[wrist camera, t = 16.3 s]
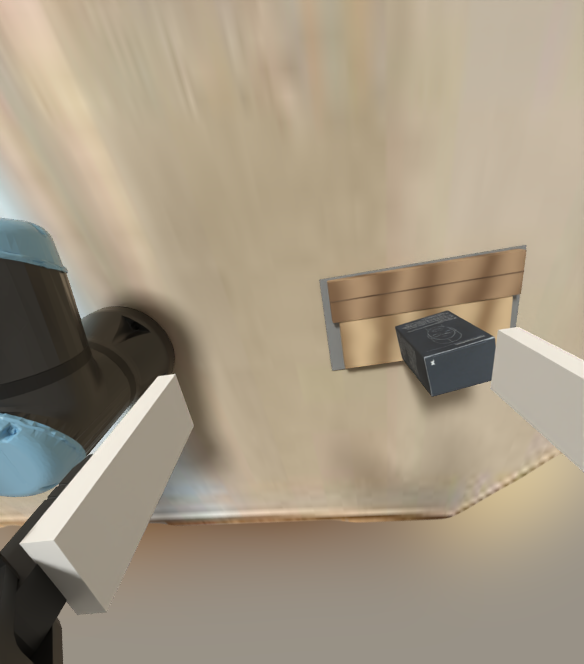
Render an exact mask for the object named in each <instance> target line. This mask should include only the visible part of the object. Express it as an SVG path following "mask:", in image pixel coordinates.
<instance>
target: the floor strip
mask: <svg viewBox="0 0 584 664" xmlns="http://www.w3.org/2000/svg"><path fill="white" fill-rule="evenodd" d="M525 257H526V250H524V249H513V250H507V251H501V252H495V253H489V254H483V255H477V256H471V257H465V258H459V259H453V260H447V261H441V262H435V263H429V264H424V265H418V266H412V267H406V268H400V269H394V270H388V271H382V272H376V273H370V274H364V275H358V276H352V277H346V278H340V279H334V280H328V281H327V286H328V294H329V301H330V309H331V317H332V322H333V323H338V322H344V321H351V320H357V319H364V318H370V317H376V316H383V315H389V314H396V313H402V312H409V311H415V310H422V309H428V308H434V307H441V306H447V305H454V304H460V303H467V302H473V301H480V300H486V299H492V298H499V297H505V296H512V295H518V294H521V288H522V280H523V272H524V265H525Z"/></svg>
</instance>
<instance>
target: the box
mask: <svg viewBox="0 0 584 664" xmlns="http://www.w3.org/2000/svg"><path fill="white" fill-rule="evenodd" d="M395 330H396V335H397V339H398V343H399V347H400V352H401V357H402V359H403V360H404V361H405V363H406V364H407V365H408V367H409V368H410V369H411V371H412V372H413V373H414V374H415V375H416V377H417V378H418V379H419V381H420V382H421V383H422V385H423V386H424V387H425V388H426V390H427V391H428V392H429V393H430V395H431V396H432V397H433V396H437V395H440V394H444V393H448V392H451V391H455V390H459V389H462V388H466V387H470V386H473V385H477V384H481V383H484V382H488V381H491V380H492V373H493V365H494V357H495V349H496V344H495V337H494V336H492V335H490V334H489V333H487V332H485V331H483V330H482V329H480V328H478V327H476V326H475V325H473V324H471V323H469V322H468V321H466V320H464V319H462V318H461V317H459V316H457V315H455V314H454V313H452V312H450V311H448V310H447V311H443V312H440V313H437V314H434V315H430V316H427V317H424V318H421V319H417V320H414V321H411V322H408V323H404V324H401V325H398V326H395Z"/></svg>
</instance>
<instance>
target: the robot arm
mask: <svg viewBox="0 0 584 664" xmlns="http://www.w3.org/2000/svg"><path fill="white" fill-rule="evenodd" d="M66 273H68V271H67V269H66V268H65V267H64V266H63V264H62V262H61V259H60V257H59V254H58V252H57V249H56V246H55V244H54V241H53V239H52V237H51V236H50V234H49V233H48V232H47V231H46V230H44V229H43V228H42V227H40V226H38V225H36V224H34V223H31V222H27V221H22V220H14V219H6V218H0V496H7V497H24V496H32V495H36V494H40V493H43V492H46V491H48V490H50V489H52V488H53V487H55V486H56V485H58V484H59V486H58V487H56V488H55V489H54V490H53V491H52V492H51V493H50V495H49V496H48V499H47V500H44V502H43V503H42V504H41V505H40V506H39V507H38V509H37V510H36V511H35V512H34V513H33V514H32V515H31V517H30V518H29V519H28V520H27V521H26V522H25V524H24V525H23V526H22V527H21V528H20V529H19V530H18V532H17V533H16V534H15V535H14V537H12V539H11V540H10V541H9V542H8V543H7V544H6V546H5V547H4V548H3V549H2V550H1V551H0V664H63V650H62V628H61V624H60V621H59V620H58V618H57V616H58V615H59V613H60V611H61V609H62V608H63V606H64V604H65V603H66V602H67V603H68V604H69V605H70V606H71V608H72V609H73V610H74V611H75V613H76V614H77V615H80V614H92V613H104V612H107V611H108V609H109V606H110V604H111V602H112V600H113V598H114V596H115V593H116V591H117V589H118V587H119V585H120V583H121V581H122V579H123V576H124V574H125V572H126V570H127V568H128V566H129V564H130V562H131V559H132V557H133V555H134V553H135V551H136V548H137V547H138V544H139V542H140V540H141V538H142V536H143V534H144V531H145V529H146V527H147V525H148V523H149V521H150V519H151V517H152V515H153V512H154V510H155V508H156V506H157V504H158V502H159V500H160V497H161V495H162V493H163V491H164V489H165V487H166V485H167V482H168V480H169V478H170V476H171V474H172V472H173V470H174V468H175V465H176V463H177V461H178V459H179V457H180V455H181V453H182V450H183V448H184V446H185V444H186V442H187V440H188V438H189V435H190V433H191V431H192V429H193V427H194V424H193V421H192V418H191V416H190V413H189V410H188V407H187V405H186V402H185V399H184V396H183V393H182V391H181V388H180V385H179V382H178V380H177V377H176V374H172V375H170V374H171V372H172V370H173V366H174V350H173V347H172V344H171V341H170V339H169V337H168V336H167V334H166V333H165V331H164V330H163V329H162V328H161V327H160V326H159V325H158V324H157V323H156V322H155V321H154V320H153V319H151V318H150V317H148V316H147V315H145V314H143V313H141V312H139V311H136V310H134V309H130V308H126V307H106V308H102V309H100V310H97V311H95V312H93V313H91V314H89V315H87V316H86V317H84V318H83V319H81V318H80V315H79V312H78V309H77V306H76V302H75V299H74V296H73V293H72V290H71V287H70V283H69V280H68V277H67V274H66ZM490 389H491V390H492V391H493V392H495V393H496V394H497V395H498V396H499V397H500V398H501V399H502V400H504V401H505V402H506V403H507V404H508V405H509V406H510V407H511V408H512V409H514V410H515V411H516V412H517V413H518V414H519V415H520V416H521V417H523V418H524V419H525V420H526V421H527V422H528V423H529V424H530V425H531V426H533V427H534V428H535V429H536V430H537V431H538V432H539V433H540V434H542V435H543V436H544V437H545V438H546V439H547V440H548V441H549V442H550V443H552V444H553V445H554V446H555V447H556V448H557V449H558V450H559V451H561V452H562V453H563V454H564V455H565V456H566V457H567V458H568V459H569V460H571V461H572V462H573V463H574V464H575V465H576V466H577V467H578V468H580V469H581V470H582V471H583V472H584V360H582V359H580V358H578V357H576V356H574V355H572V354H570V353H568V352H566V351H564V350H563V349H561V348H559V347H557V346H555V345H553V344H551V343H549V342H547V341H545V340H543V339H541V338H539V337H537V336H535V335H533V334H531V333H529V332H527V331H525V330H523V329H521V328H519V327H515V328H507V329H500V330H498V333H497V341H496V349H495V357H494V365H493V373H492V381H491V388H490ZM136 401H137V402H136ZM134 402H136V404H135V405H134V406H133V407H132V408H131V410H130V411H129V412H128V413H127V414H126V416H125V417H124V418H123V419H122V420H121V422H120V423H119V424H118V425H117V426H116V428H115V429H114V430H113V431H112V432H111V434H110V435H109V436H108V437H107V439H106V440H105V441H104V442H103V443H102V445H101V446H100V447H99V448H98V449H97V451H96V452H95V453H94V454H90V455H88V454H89V453H90V452H91V450H92V449H93V448H94V447H95V446H96V445H97V443H98V442H99V441H100V440H101V439H102V437H103V436H104V435H105V434H106V433H107V431H108V430H109V429H110V428H111V427H112V425H113V424H114V423H115V422H116V421H117V419H118V418H119V417H120V416H121V415H122V414H123V412H124V411H125V410H126V409H127V408H128V406H129V405H130V404H132V403H134ZM87 455H88V456H87ZM86 456H87V457H86Z"/></svg>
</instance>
